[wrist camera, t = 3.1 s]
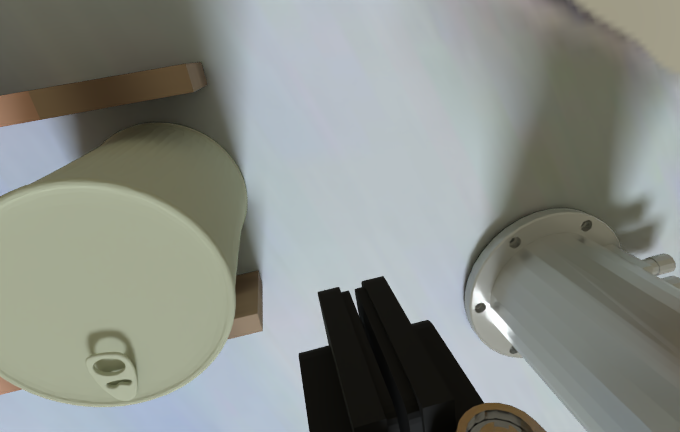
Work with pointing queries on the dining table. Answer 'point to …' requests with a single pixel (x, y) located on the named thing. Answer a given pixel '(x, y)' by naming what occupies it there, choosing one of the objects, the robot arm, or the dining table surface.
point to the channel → (121, 93)
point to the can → (121, 268)
